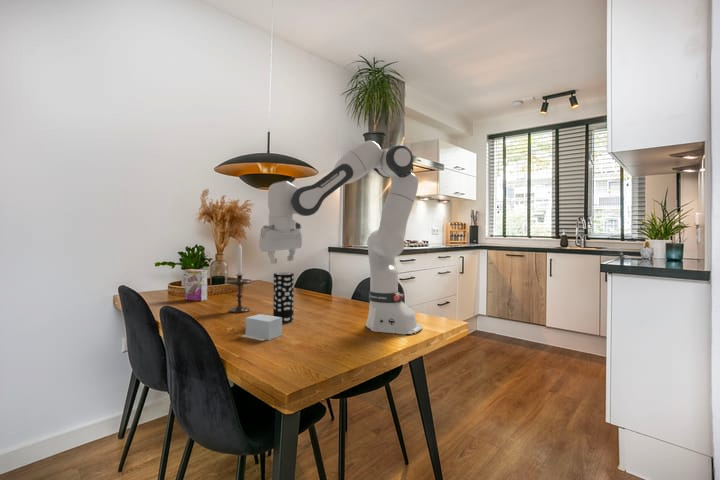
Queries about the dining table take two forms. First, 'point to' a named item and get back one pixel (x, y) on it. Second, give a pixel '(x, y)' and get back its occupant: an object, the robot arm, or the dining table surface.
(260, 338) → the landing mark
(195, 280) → the candy bar box
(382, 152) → the robot arm
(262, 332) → the light grey rectangular block
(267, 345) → the dining table surface
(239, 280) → the candlestick
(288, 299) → the white-spotted black cylinder
